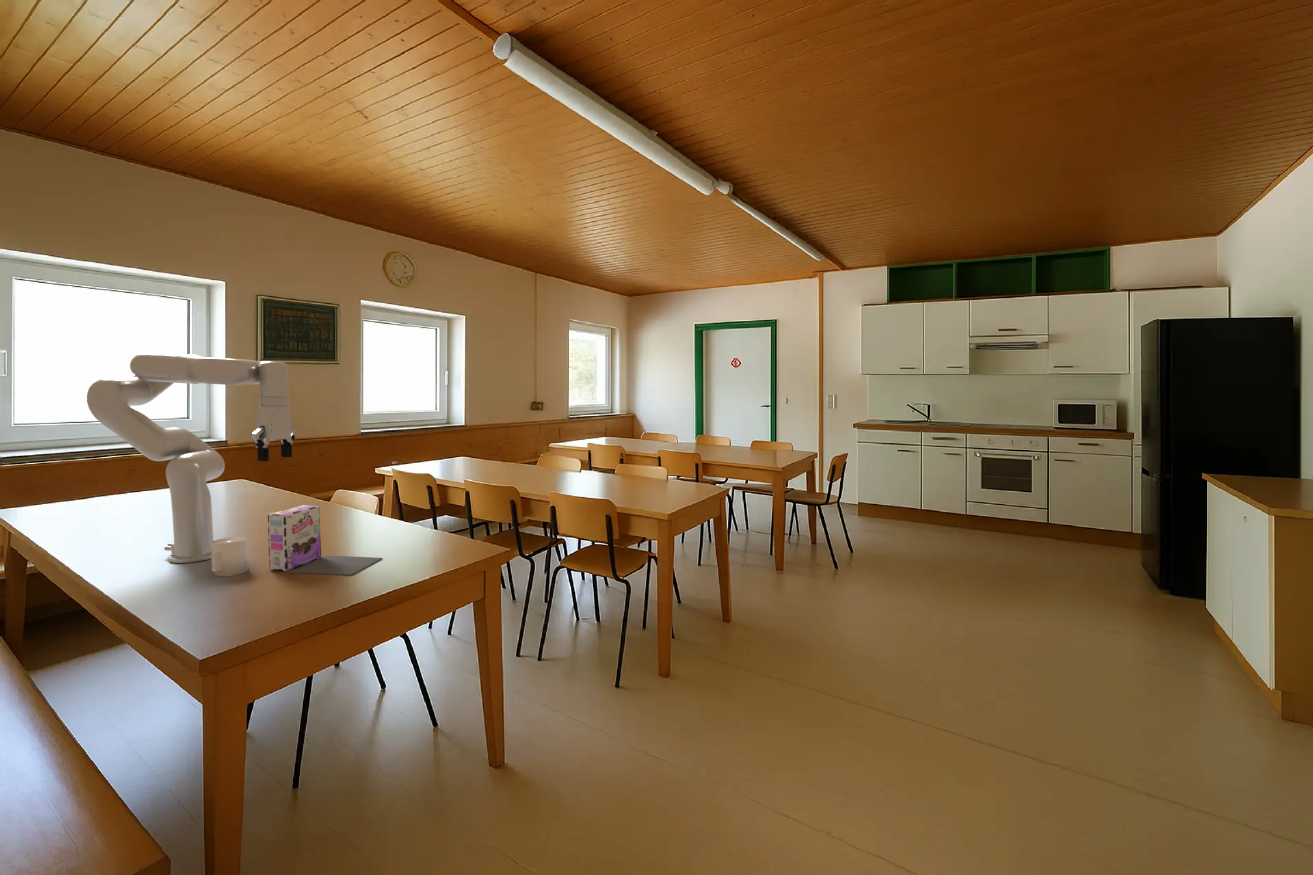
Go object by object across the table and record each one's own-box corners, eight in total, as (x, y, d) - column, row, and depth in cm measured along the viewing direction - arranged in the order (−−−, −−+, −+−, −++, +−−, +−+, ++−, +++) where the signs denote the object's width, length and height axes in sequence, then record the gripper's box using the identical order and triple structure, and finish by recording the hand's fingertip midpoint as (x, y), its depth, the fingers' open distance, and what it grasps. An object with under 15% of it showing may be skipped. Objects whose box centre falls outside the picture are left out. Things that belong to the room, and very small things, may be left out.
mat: (290, 573, 172) (290, 571, 172) (326, 556, 188) (326, 555, 187) (351, 575, 170) (351, 574, 170) (382, 559, 186) (382, 557, 186)
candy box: (286, 572, 173) (283, 514, 171) (268, 570, 174) (266, 513, 172) (322, 558, 186) (320, 505, 185) (305, 556, 187) (303, 503, 186)
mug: (200, 578, 167) (198, 545, 166) (229, 566, 176) (227, 536, 176) (227, 579, 166) (226, 546, 165) (255, 568, 176) (253, 537, 175)
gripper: (283, 401, 193) (284, 455, 195) (240, 403, 176) (241, 462, 177) (305, 402, 192) (306, 456, 194) (264, 404, 175) (265, 463, 177)
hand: (275, 459), depth 186 cm, fingers open, 9 cm apart
